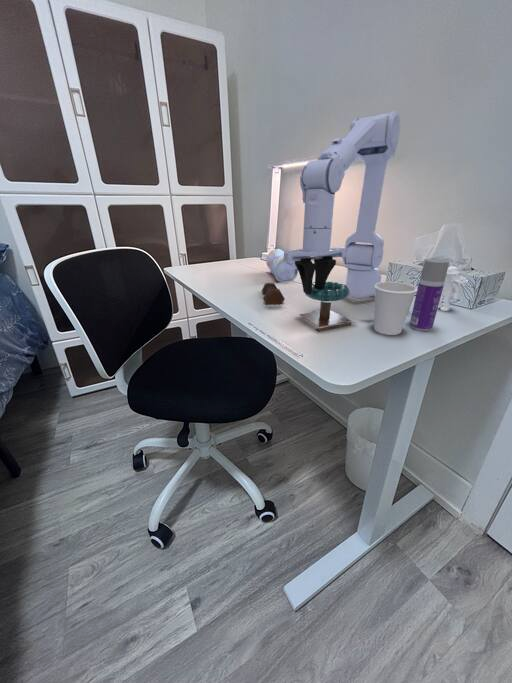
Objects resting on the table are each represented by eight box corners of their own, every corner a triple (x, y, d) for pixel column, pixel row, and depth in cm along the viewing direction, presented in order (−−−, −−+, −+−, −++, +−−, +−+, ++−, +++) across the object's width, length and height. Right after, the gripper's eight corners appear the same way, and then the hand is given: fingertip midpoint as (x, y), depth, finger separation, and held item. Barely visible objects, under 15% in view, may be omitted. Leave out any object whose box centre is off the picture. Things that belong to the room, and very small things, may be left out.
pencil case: (298, 283, 104) (299, 256, 100) (274, 284, 103) (274, 257, 99) (285, 271, 123) (286, 247, 119) (265, 271, 122) (265, 248, 118)
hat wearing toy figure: (461, 312, 75) (476, 265, 70) (450, 314, 74) (464, 266, 69) (431, 302, 83) (442, 259, 77) (421, 304, 81) (431, 260, 76)
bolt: (270, 298, 94) (276, 312, 80) (257, 291, 93) (261, 304, 79) (279, 282, 92) (287, 294, 78) (266, 275, 91) (271, 285, 77)
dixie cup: (384, 320, 71) (392, 279, 66) (416, 332, 64) (426, 288, 60) (359, 327, 67) (366, 284, 63) (389, 340, 60) (399, 294, 56)
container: (431, 332, 64) (449, 263, 57) (407, 328, 66) (423, 261, 59) (432, 325, 67) (450, 259, 61) (410, 322, 69) (425, 257, 63)
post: (328, 313, 76) (330, 294, 73) (351, 325, 68) (354, 304, 66) (298, 318, 73) (299, 298, 70) (318, 331, 65) (320, 309, 63)
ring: (331, 288, 73) (331, 278, 72) (357, 298, 65) (359, 288, 64) (296, 293, 70) (296, 283, 69) (320, 305, 62) (321, 294, 61)
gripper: (334, 225, 66) (329, 284, 71) (277, 227, 61) (276, 291, 66) (355, 227, 60) (347, 291, 66) (294, 230, 55) (291, 299, 61)
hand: (313, 292), depth 66 cm, fingers closed on ring, 2 cm apart
